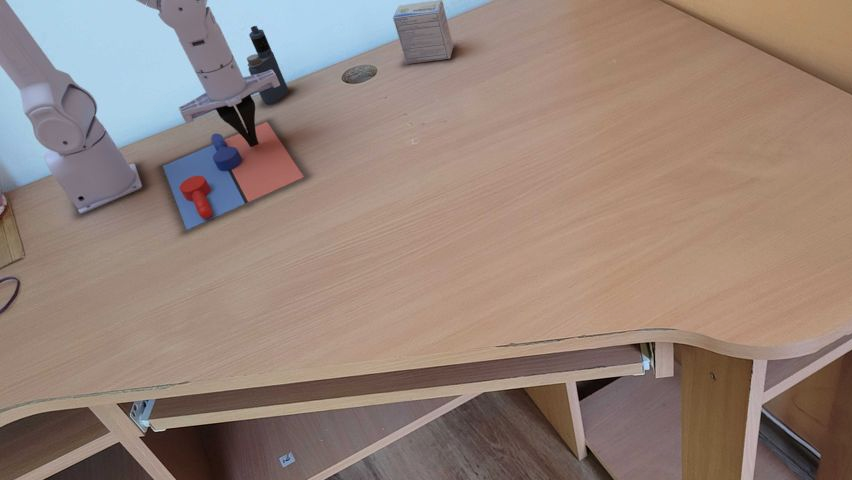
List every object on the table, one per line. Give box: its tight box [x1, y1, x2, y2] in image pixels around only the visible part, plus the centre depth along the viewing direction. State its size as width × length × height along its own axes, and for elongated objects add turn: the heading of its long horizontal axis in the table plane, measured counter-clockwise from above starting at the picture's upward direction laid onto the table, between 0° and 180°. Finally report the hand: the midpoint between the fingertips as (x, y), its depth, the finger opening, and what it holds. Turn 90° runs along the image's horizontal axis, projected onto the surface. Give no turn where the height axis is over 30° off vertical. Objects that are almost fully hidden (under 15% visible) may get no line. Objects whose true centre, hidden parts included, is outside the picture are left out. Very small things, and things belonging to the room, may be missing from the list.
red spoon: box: [180, 176, 212, 219], centre depth 102 cm, size 10×4×2 cm, turn 30°
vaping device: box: [246, 25, 290, 105], centre depth 118 cm, size 3×5×12 cm, turn 150°
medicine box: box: [392, 0, 454, 65], centre depth 120 cm, size 8×4×9 cm, turn 84°
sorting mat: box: [162, 121, 305, 231], centre depth 107 cm, size 18×20×1 cm
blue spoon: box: [210, 132, 242, 171], centre depth 110 cm, size 10×4×2 cm, turn 30°
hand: (253, 143), depth 110 cm, fingers closed
